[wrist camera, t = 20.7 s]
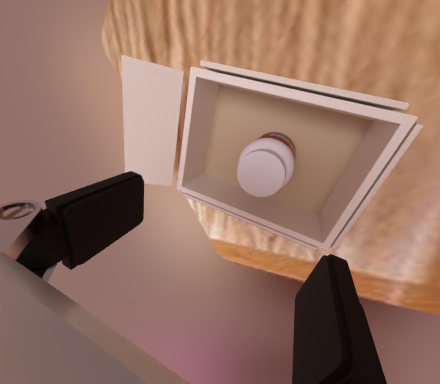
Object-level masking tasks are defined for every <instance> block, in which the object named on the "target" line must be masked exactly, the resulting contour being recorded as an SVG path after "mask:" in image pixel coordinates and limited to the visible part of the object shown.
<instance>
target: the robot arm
mask: <svg viewBox="0 0 440 384" xmlns="http://www.w3.org/2000/svg"><path fill="white" fill-rule="evenodd" d="M45 204H46V207H47V209H44V210H42V207H41V204H39V203H38V202H35V201H28V200H24V201H15V202H9V203H6V204H2V205H0V384H190V383H189V382H187V381H186V380H185V379H183V378H182V377H180V376H179V375H178V374H176V373H175V372H173V371H172V370H170V369H169V368H168V367H166V366H165V365H163V364H162V363H161V362H159V361H158V360H156V359H155V358H153V357H152V356H151V355H149V354H148V353H146V352H145V351H144V350H142V349H141V348H140V347H138V346H137V345H135V344H134V343H132V342H131V341H130V340H128V339H127V338H125V337H124V336H122V335H121V334H120V333H118V332H117V331H115V330H114V329H113V328H111V327H110V326H108V325H107V324H106V323H104V322H103V321H101V320H100V319H98V318H97V317H96V316H94V315H93V314H91V313H90V312H88V311H87V310H86V309H84V308H83V307H81V306H80V305H79V304H77V303H76V302H74V301H73V300H71V299H70V298H69V297H67V296H66V295H64V294H63V293H61V292H60V291H59V290H57V289H56V288H54V287H53V286H51V285H50V284H49V283H48V281H49V279H50V277H51V275H52V273H53V271H54V269H55V267H56V265H57V263H58V262H60V261H61V260H62V263H63V265H65V266H66V267H68V268H69V269H71V270H72V269H73V268H75V267H76V266H77V265H81V264H83V263H85V262H86V261H88V260H89V259H90V258H92V257H93V256H95V255H96V254H98V253H99V252H101V251H102V250H104V249H105V248H106V247H108V246H109V245H111V244H112V243H113V242H115V241H116V240H118V239H119V238H121V237H122V236H123V235H125V234H126V233H128V232H129V231H131V230H132V229H134V228H135V227H136V226H138V225H139V224H140V223H141V222H142V221H143V213H144V212H143V211H144V180H143V177H142V176H141V175H140V174H138V173H135V172H133V171H129V172H126V173H123V174H121V175H117V176H115V177H112V178H109V179H106V180H103V181H100V182H97V183H95V184H92V185H89V186H86V187H83V188H80V189H77V190H75V191H72V192H69V193H66V194H63V195H60V196H57V197H55V198H52V199H49V200H46V201H45ZM292 384H387V383H386V380H385V376H384V374H383V370H382V367H381V364H380V360H379V357H378V354H377V351H376V348H375V345H374V341H373V338H372V335H371V332H370V328H369V325H368V322H367V319H366V316H365V312H364V310H363V307H362V305H361V304H360V302H359V299H358V296H357V292H356V289H355V286H354V282H353V279H352V276H351V273H350V269H349V266H348V263H347V261H346V260H344V259H342V258H339V257H337V256H335V255H332V254H330V255H328V256H326V255H324V256H322V258H321V259H320V261H319V262H318V264H317V265H316V267H315V268H314V269H313V271H312V272H311V274H310V275H309V277H308V278H307V280H306V281H305V283H304V284H303V286H302V287H301V289H300V290H299V292H298V293H297V295H296V298H295V319H294V345H293V376H292Z"/></svg>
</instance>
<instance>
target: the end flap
mask: <svg viewBox="0 0 440 384" xmlns="http://www.w3.org/2000/svg"><path fill="white" fill-rule="evenodd" d="M183 75H184V71H181V70H177V69H173V68H170V67H166V66H162V65H158V64H154V63H151V62H147V61H143V60H139V59H135V58H131V57H128V56H124V55H122V85H123V114H124V115H123V116H124V145H125V173H126V172H129V171H133V172H135V173H138V174H140V175H141V176H142V177H143V180H144V183H146V184H155V185H165V186H172V181H173V172H174V162H175V153H176V143H177V133H178V123H179V114H180V104H181V94H182V84H183Z"/></svg>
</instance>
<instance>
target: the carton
mask: <svg viewBox="0 0 440 384" xmlns="http://www.w3.org/2000/svg"><path fill="white" fill-rule="evenodd" d="M200 66H202V67H204V68H206V69H209V70H211V71H208V70H204V69H199V68H194V67H191V70H190V78H189V87H188V96H187V104H186V113H185V121H184V130H183V138H182V147H181V156H180V164H179V173H178V181H177V190H180V191H182V192H183V196H184V197H187V198H189V199H192V200H194V201H196V202H199V203H201V204H204V205H206V206H209V207H211V208H213V209H216V210H218V211H221V212H223V213H225V214H228V215H230V216H233V217H235V218H237V219H240V220H242V221H245V222H247V223H249V224H252V225H254V226H257V227H259V228H262V229H264V230H266V231H269V232H271V233H274V234H276V235H278V236H281V237H283V238H286V239H288V240H290V241H293V242H295V243H298V244H300V245H302V246H305V247H307V248H310V249H312V250H314V251H316V249H317V247H319V248H321V249H324V250H326V251H327V250H328V249H329V247H330V246H331V248H333V249H335V250H336V249H337V247H338V246H339V244H340V243H341V241H342V240H343V239H344V237H345V236H346V234H347V233H348V232H349V230H350V229H351V227H352V226H353V225H354V223H355V222H356V220H357V219H358V218H359V216H360V215H361V213H362V212H363V210H364V209H365V208H366V206H367V205H368V203H369V202H370V201H371V199H372V198H373V196H374V195H375V194H376V192H377V191H378V189H379V188H380V187H381V185H382V184H383V182H384V181H385V179H386V178H387V177H388V175H389V174H390V172H391V171H392V170H393V168H394V167H395V165H396V164H397V163H398V161H399V160H400V158H401V157H402V155H403V154H404V153H405V151H406V150H407V148H408V147H409V146H410V144H411V143H412V141H413V140H414V139H415V137H416V136H417V134H418V133H419V132H420V130H421V129H422V127H423V126H424V125H420V124H415V123H414V122H415V121H416V119H417V118H418V116H413V115H409V114H404V113H400V112H395V111H390V110H406V109H407V107H408V106H409V104H410V103H406V102H401V101H396V100H391V99H387V98H382V97H377V96H372V95H367V94H362V93H357V92H353V91H348V90H343V89H338V88H333V87H328V86H324V85H319V84H314V83H309V82H304V81H299V80H295V79H290V78H285V77H280V76H275V75H270V74H266V73H261V72H256V71H251V70H246V69H241V68H236V67H232V66H227V65H222V64H217V63H212V62H207V61H203V60H201V63H200ZM269 132H280V133H283V134H285V135H287V136H288V137H289V138H290V139H291V140H292V141H293V143H294V145H295V149H296V156H295V166H294V172H293V175H292V177H291V179H290V180H289V182H288V183H287V184H286V185H285V186H284V187H282V188H281V189H279V190H278V191H277V192H276V193H274V194H272V195H270V196H266V197H257V196H253V195H251V194H249V193H247V192H246V191H245V190H244V189H243V188H242V187H241V185H240V184H239V181H238V178H237V168H238V161H239V157H240V155H241V153H242V151H243V150H244V148H245V147H246V146H247V145H249V144H250V143H251V142H253V141H254V140H256V139H257V138H259V137H260V136H262V135H264V134H266V133H269Z"/></svg>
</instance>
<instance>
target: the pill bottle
mask: <svg viewBox="0 0 440 384" xmlns="http://www.w3.org/2000/svg"><path fill="white" fill-rule="evenodd" d="M295 156H296V149H295V145H294V143H293V141H292V140H291V139H290V138H289V137H288V136H287V135H285V134H283V133H280V132H269V133H266V134H264V135H262V136H260V137H259V138H257V139H256V140H254V141H253V142H251V143H250V144H249V145H247V146H246V147H245V148H244V150H243V151H242V153H241V155H240V157H239V161H238V168H237V178H238V181H239V184H240V185H241V187H242V188H243V189H244V190H245V191H246V192H247V193H249V194H251V195H253V196H257V197H266V196H270V195H272V194H274V193H276V192H277V191H278V190H279V189H281V188H282V187H284V186H285V185H286V184H287V183H288V182H289V180H290V179H291V177H292V175H293V172H294V166H295Z"/></svg>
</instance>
